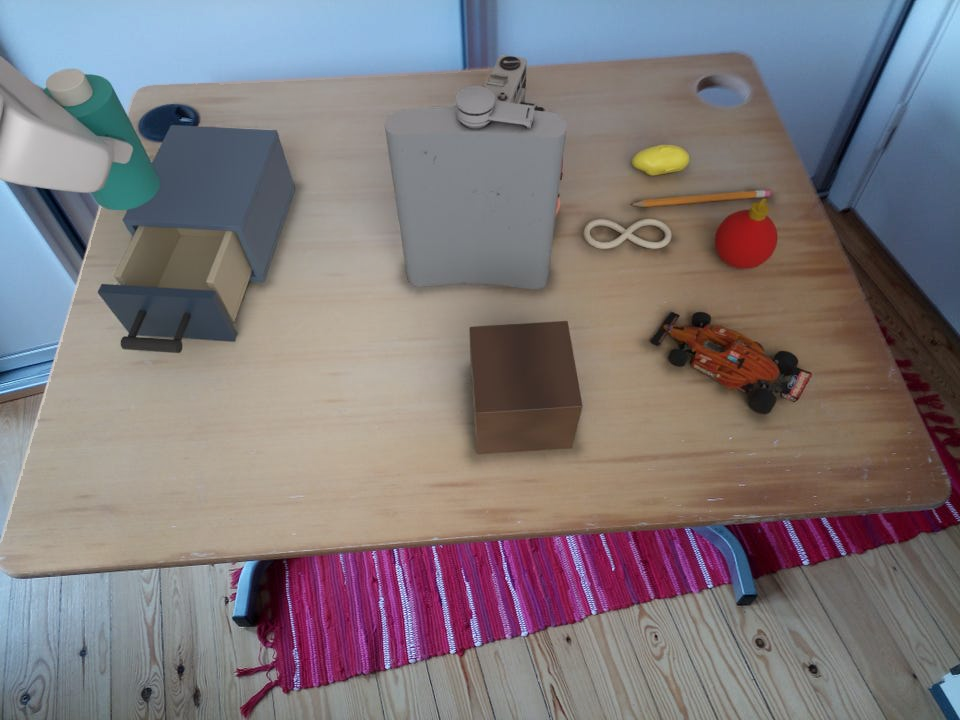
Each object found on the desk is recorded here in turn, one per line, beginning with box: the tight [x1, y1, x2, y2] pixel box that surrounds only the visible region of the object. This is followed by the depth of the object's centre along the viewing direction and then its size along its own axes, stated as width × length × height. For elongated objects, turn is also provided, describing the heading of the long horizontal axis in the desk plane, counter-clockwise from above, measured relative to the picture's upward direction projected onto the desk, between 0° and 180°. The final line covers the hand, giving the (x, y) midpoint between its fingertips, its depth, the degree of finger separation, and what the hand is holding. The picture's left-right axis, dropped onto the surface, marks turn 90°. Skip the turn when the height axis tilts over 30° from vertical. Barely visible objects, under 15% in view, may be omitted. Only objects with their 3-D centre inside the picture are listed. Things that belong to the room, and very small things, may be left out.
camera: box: [484, 54, 547, 112], centre depth 92 cm, size 14×9×10 cm, turn 156°
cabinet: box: [121, 124, 296, 283], centre depth 83 cm, size 17×14×10 cm
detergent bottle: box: [43, 68, 160, 212], centre depth 59 cm, size 6×6×12 cm
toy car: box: [649, 311, 813, 415], centre depth 74 cm, size 8×16×4 cm, turn 53°
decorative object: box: [582, 218, 672, 250], centre depth 86 cm, size 11×1×5 cm
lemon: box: [631, 144, 691, 176], centre depth 91 cm, size 4×8×4 cm, turn 92°
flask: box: [383, 85, 567, 291], centre depth 72 cm, size 17×5×25 cm, turn 88°
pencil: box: [630, 189, 772, 208], centre depth 89 cm, size 1×1×19 cm
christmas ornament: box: [714, 197, 779, 270], centre depth 80 cm, size 7×7×10 cm
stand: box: [468, 320, 584, 455], centre depth 69 cm, size 10×10×9 cm
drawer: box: [97, 226, 253, 354], centre depth 76 cm, size 20×12×8 cm, turn 175°
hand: (104, 133), depth 59 cm, fingers closed on detergent bottle, 6 cm apart
